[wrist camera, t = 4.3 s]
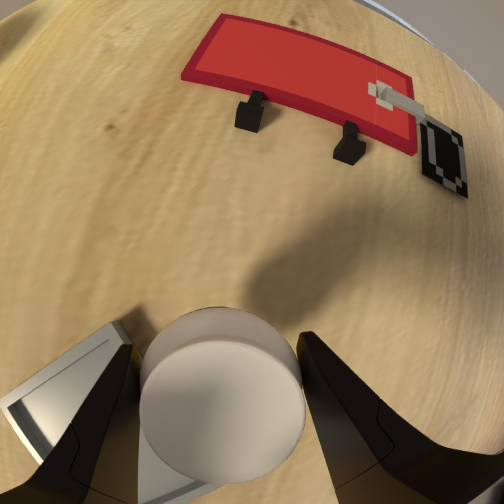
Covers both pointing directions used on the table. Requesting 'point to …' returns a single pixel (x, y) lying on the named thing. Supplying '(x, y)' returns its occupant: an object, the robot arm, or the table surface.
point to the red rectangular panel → (325, 91)
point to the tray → (67, 404)
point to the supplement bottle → (221, 396)
